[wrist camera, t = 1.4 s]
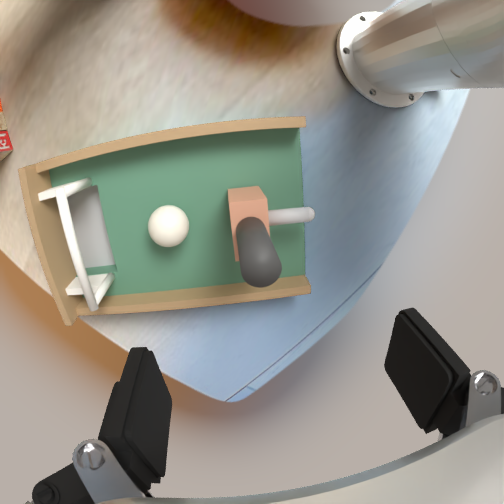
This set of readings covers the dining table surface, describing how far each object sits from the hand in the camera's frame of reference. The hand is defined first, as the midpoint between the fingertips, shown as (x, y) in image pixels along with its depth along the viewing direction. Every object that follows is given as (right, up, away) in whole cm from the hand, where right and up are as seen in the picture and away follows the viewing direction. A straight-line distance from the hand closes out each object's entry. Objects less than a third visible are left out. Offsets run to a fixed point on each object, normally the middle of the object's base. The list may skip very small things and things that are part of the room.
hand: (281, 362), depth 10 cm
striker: (+1, +8, +19) cm, 21 cm away
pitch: (-10, +8, +21) cm, 25 cm away
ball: (-9, +7, +17) cm, 20 cm away
